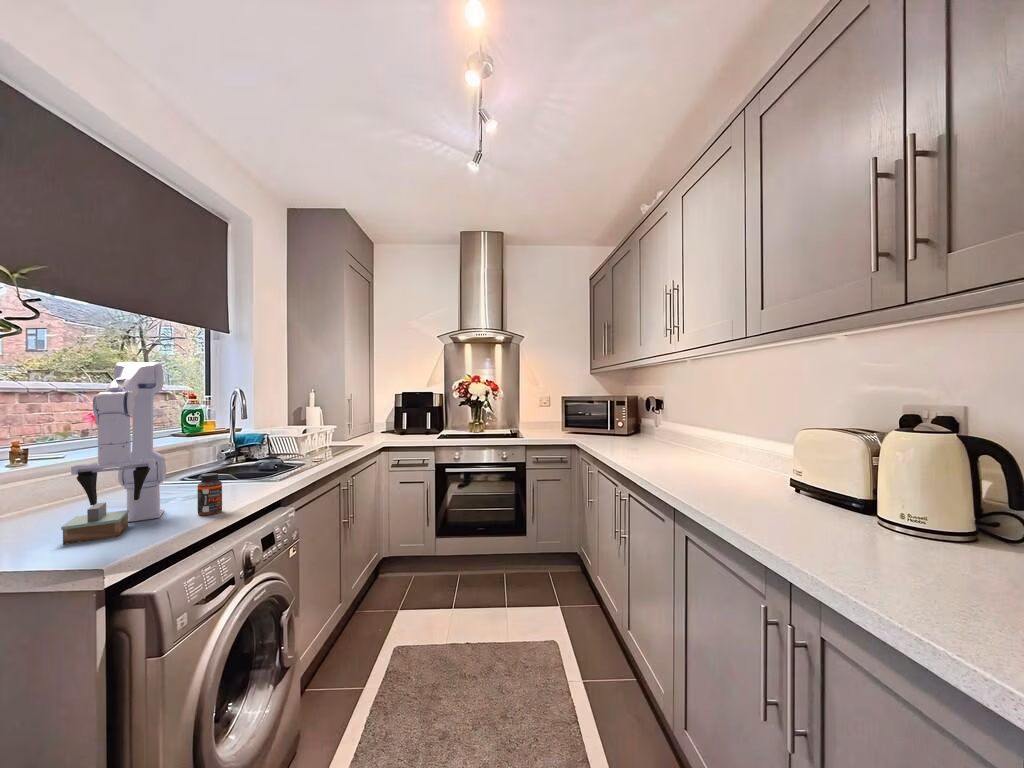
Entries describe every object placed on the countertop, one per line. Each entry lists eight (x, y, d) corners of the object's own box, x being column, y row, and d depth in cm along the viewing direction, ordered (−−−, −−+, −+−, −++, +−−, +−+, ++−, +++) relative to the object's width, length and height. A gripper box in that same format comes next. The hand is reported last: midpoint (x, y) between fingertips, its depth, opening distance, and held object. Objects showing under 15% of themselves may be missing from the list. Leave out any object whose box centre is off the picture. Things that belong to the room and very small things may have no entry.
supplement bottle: (209, 516, 126) (209, 476, 126) (192, 515, 127) (191, 476, 127) (227, 510, 132) (226, 472, 132) (210, 510, 133) (209, 472, 133)
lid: (76, 523, 114) (75, 504, 114) (129, 517, 119) (128, 498, 119) (61, 535, 105) (61, 514, 105) (119, 527, 110) (118, 507, 110)
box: (77, 533, 114) (76, 519, 114) (128, 526, 119) (127, 512, 119) (62, 544, 105) (62, 529, 105) (118, 536, 110) (118, 522, 110)
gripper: (65, 448, 97) (67, 510, 97) (151, 442, 104) (152, 500, 104) (76, 444, 103) (77, 503, 103) (156, 439, 110) (157, 494, 110)
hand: (115, 501), depth 104 cm, fingers open, 7 cm apart
